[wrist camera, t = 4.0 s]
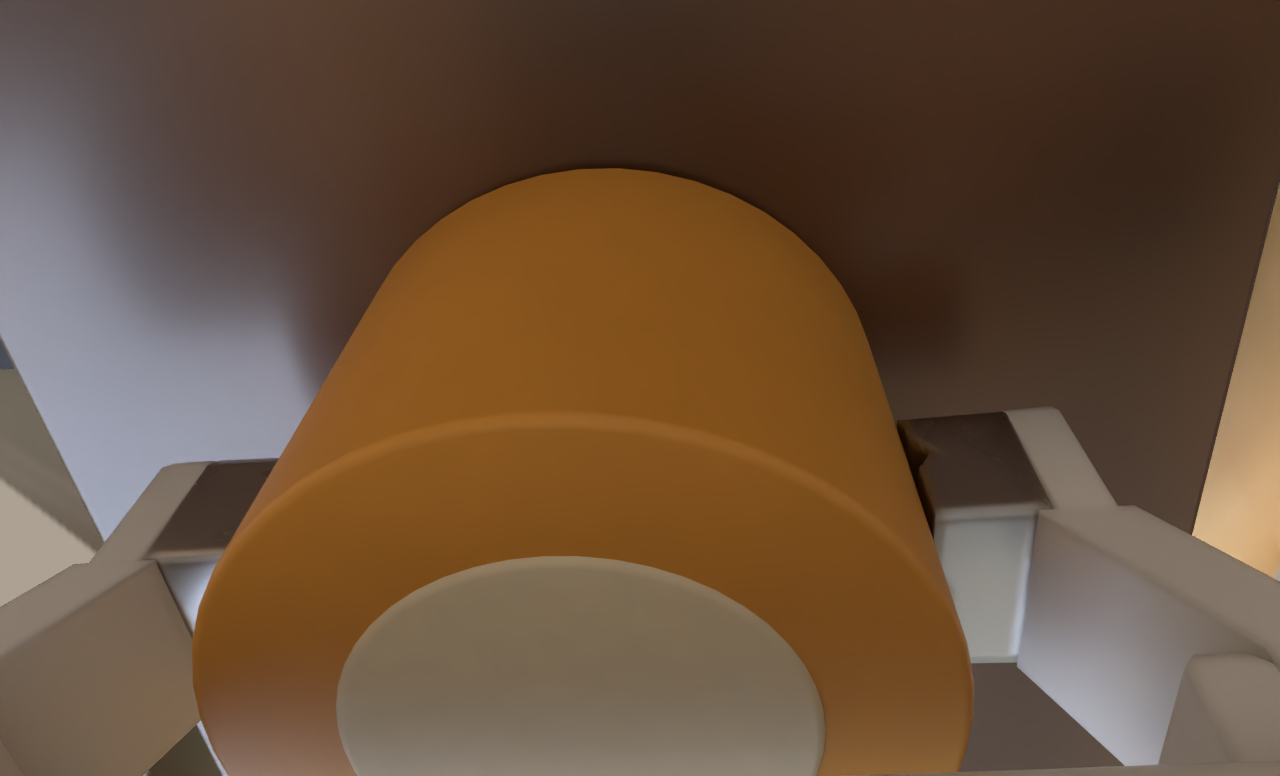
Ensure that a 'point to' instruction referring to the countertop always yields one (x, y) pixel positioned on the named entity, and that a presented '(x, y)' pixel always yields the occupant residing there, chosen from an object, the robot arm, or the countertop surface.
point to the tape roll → (591, 517)
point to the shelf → (657, 142)
